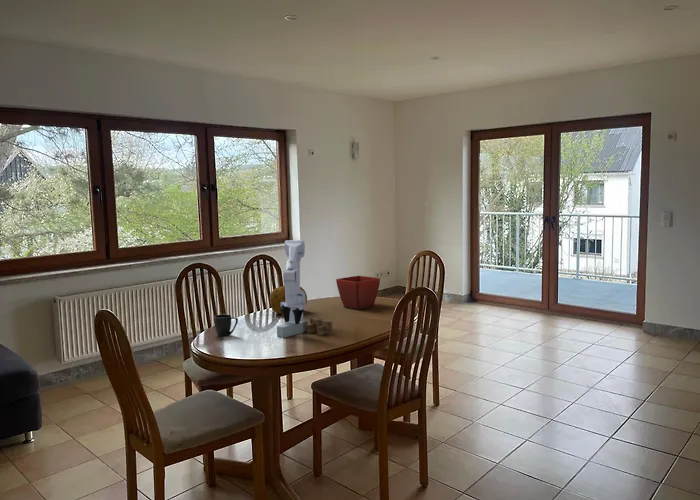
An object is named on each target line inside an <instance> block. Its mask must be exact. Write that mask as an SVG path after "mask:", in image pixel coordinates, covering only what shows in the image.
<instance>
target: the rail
mask: <svg viewBox="0 0 700 500" xmlns="http://www.w3.org/2000/svg"><path fill="white" fill-rule="evenodd" d="M307 325H308V320H305V319H303V320H300V324H295V322H292V323H288V324H285V323H283V324H280V325H277V326H276V335H277V337H278V338H281V339H283V338H287V337H291V336H295V335H297V334H302V333H305V332H306V333H307Z"/></svg>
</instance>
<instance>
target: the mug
mask: <svg viewBox="0 0 700 500" xmlns="http://www.w3.org/2000/svg"><path fill="white" fill-rule="evenodd" d="M232 320H235V324H234V325H233V327H232ZM238 322H239V318H238V317H232V315H231V314H229V313H227V314H226V313H223V314H222V313H221V314H216V315H214V316H213V326H214V329H215V332H216V336H217V337H220V338H221V337H223V338H225V337H228V336H230V335H233V333H234V331H235V330H236V328H237V325H238ZM231 328H232V330H231Z"/></svg>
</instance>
